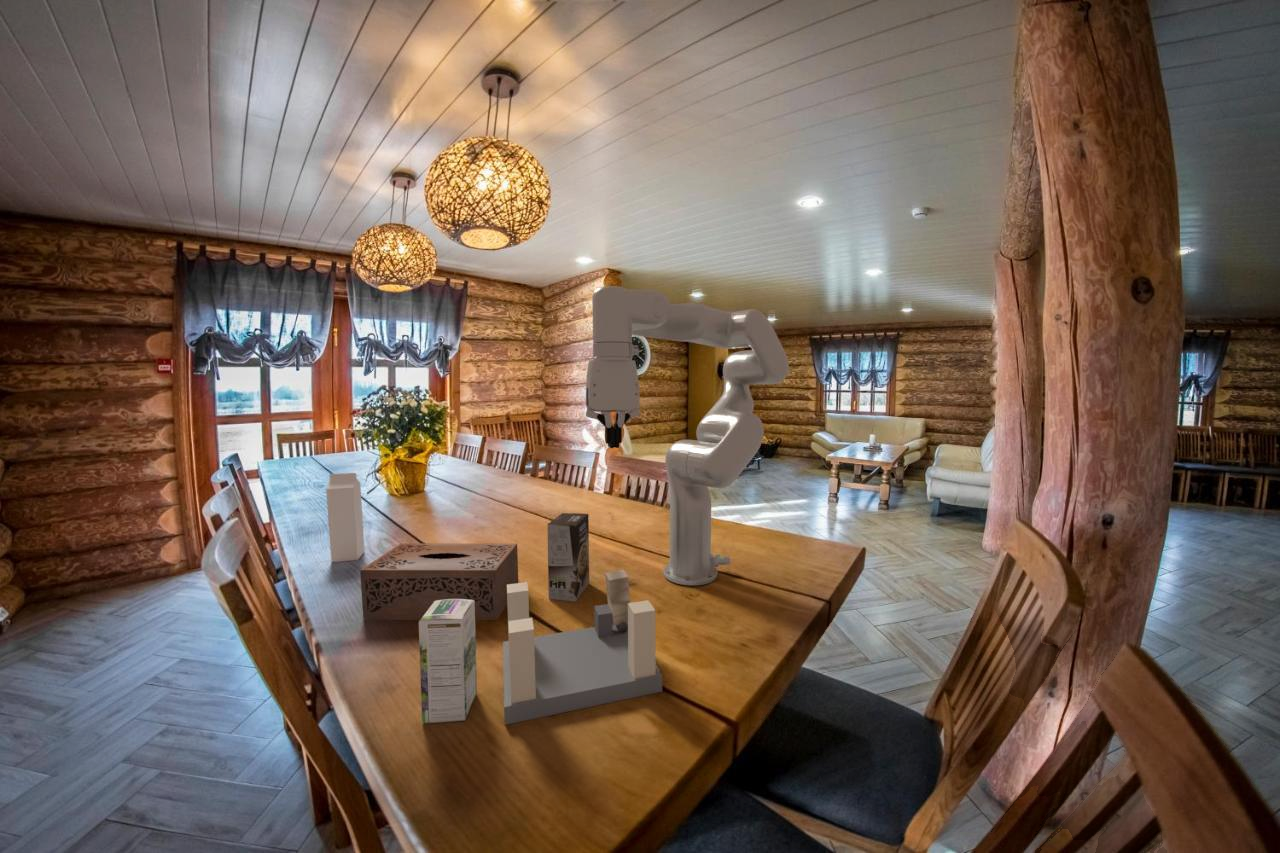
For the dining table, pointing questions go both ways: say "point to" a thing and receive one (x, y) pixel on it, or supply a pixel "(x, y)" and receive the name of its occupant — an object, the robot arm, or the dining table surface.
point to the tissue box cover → (438, 579)
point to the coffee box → (568, 556)
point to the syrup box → (448, 660)
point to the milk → (345, 517)
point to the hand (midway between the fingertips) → (613, 446)
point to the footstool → (576, 661)
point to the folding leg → (618, 598)
